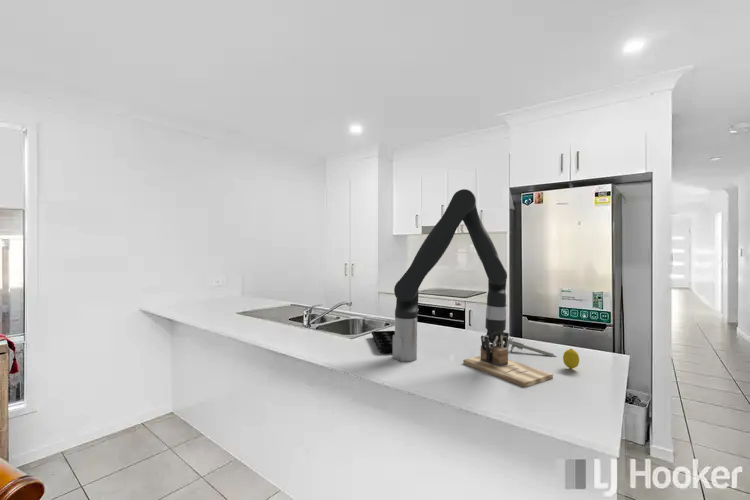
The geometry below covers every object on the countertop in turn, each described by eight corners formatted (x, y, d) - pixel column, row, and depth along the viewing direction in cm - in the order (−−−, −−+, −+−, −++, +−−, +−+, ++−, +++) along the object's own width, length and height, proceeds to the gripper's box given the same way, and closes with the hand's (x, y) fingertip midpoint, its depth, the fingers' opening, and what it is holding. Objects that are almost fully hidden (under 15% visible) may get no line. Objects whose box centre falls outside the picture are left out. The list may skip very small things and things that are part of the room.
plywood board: (524, 387, 124) (525, 382, 124) (463, 363, 148) (463, 359, 148) (552, 378, 133) (552, 374, 133) (490, 357, 156) (490, 353, 156)
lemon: (577, 367, 144) (578, 347, 144) (580, 372, 139) (580, 351, 139) (561, 366, 146) (562, 346, 146) (563, 370, 141) (564, 349, 141)
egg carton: (383, 357, 156) (383, 348, 156) (360, 339, 184) (360, 331, 184) (420, 353, 162) (420, 344, 162) (393, 336, 191) (393, 329, 190)
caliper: (506, 351, 167) (506, 337, 167) (506, 350, 168) (506, 336, 168) (556, 357, 158) (556, 342, 158) (556, 356, 159) (556, 342, 159)
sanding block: (507, 364, 143) (508, 348, 143) (499, 366, 140) (500, 351, 140) (488, 358, 150) (488, 343, 150) (480, 360, 147) (480, 345, 147)
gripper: (499, 313, 151) (498, 354, 152) (475, 317, 144) (474, 360, 144) (515, 317, 145) (514, 360, 146) (491, 321, 137) (489, 366, 138)
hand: (494, 360), depth 145 cm, fingers closed on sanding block, 5 cm apart
